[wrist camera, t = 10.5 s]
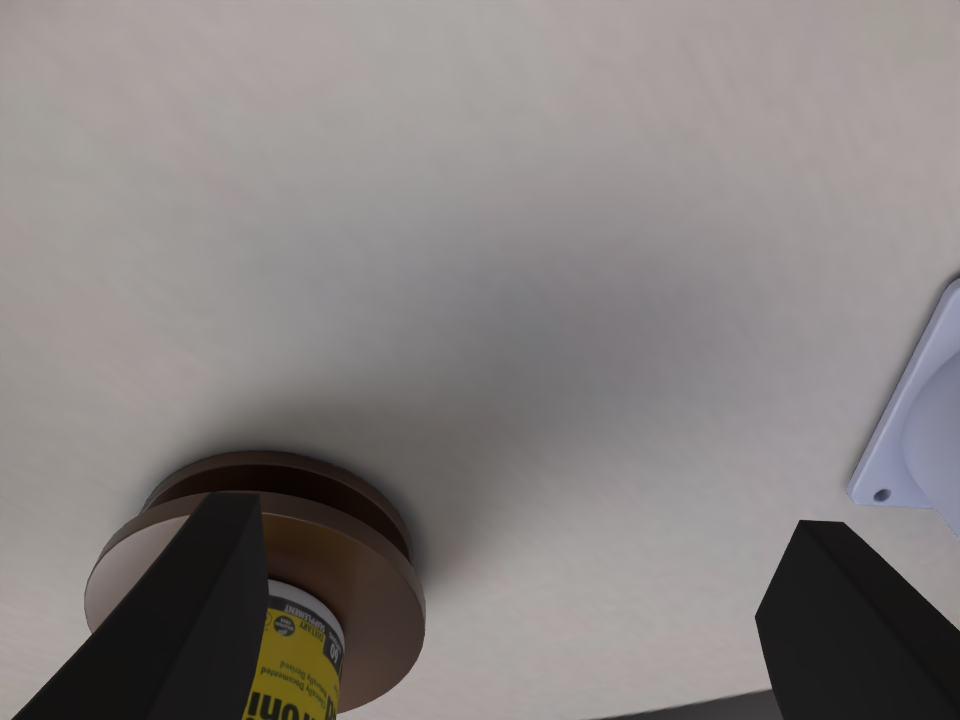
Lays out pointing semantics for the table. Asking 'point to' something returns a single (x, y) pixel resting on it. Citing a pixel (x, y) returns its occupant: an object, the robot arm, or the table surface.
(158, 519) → the stand
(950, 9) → the table surface
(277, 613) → the supplement bottle
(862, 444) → the table surface
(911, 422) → the robot arm
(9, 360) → the table surface
